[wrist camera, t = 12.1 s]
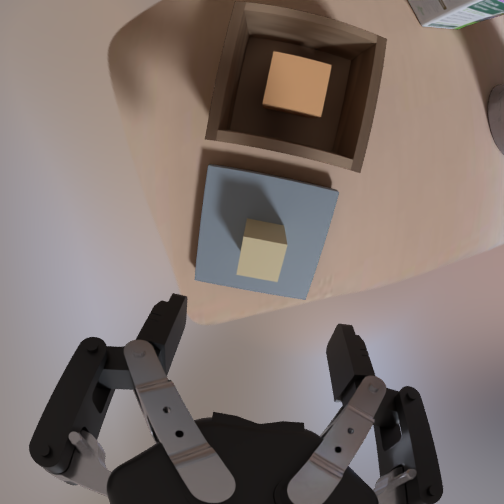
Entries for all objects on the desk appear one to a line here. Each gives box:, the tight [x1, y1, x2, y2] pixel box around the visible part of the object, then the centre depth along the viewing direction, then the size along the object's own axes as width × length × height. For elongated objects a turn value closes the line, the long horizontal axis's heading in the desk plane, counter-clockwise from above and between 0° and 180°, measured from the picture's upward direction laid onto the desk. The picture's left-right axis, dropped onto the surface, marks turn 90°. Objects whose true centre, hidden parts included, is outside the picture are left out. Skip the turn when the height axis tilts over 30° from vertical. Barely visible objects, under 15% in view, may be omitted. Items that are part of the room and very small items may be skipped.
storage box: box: [205, 1, 387, 173], centre depth 16 cm, size 10×10×6 cm
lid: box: [195, 164, 339, 300], centre depth 23 cm, size 11×11×6 cm
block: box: [263, 51, 332, 119], centre depth 17 cm, size 4×4×4 cm
